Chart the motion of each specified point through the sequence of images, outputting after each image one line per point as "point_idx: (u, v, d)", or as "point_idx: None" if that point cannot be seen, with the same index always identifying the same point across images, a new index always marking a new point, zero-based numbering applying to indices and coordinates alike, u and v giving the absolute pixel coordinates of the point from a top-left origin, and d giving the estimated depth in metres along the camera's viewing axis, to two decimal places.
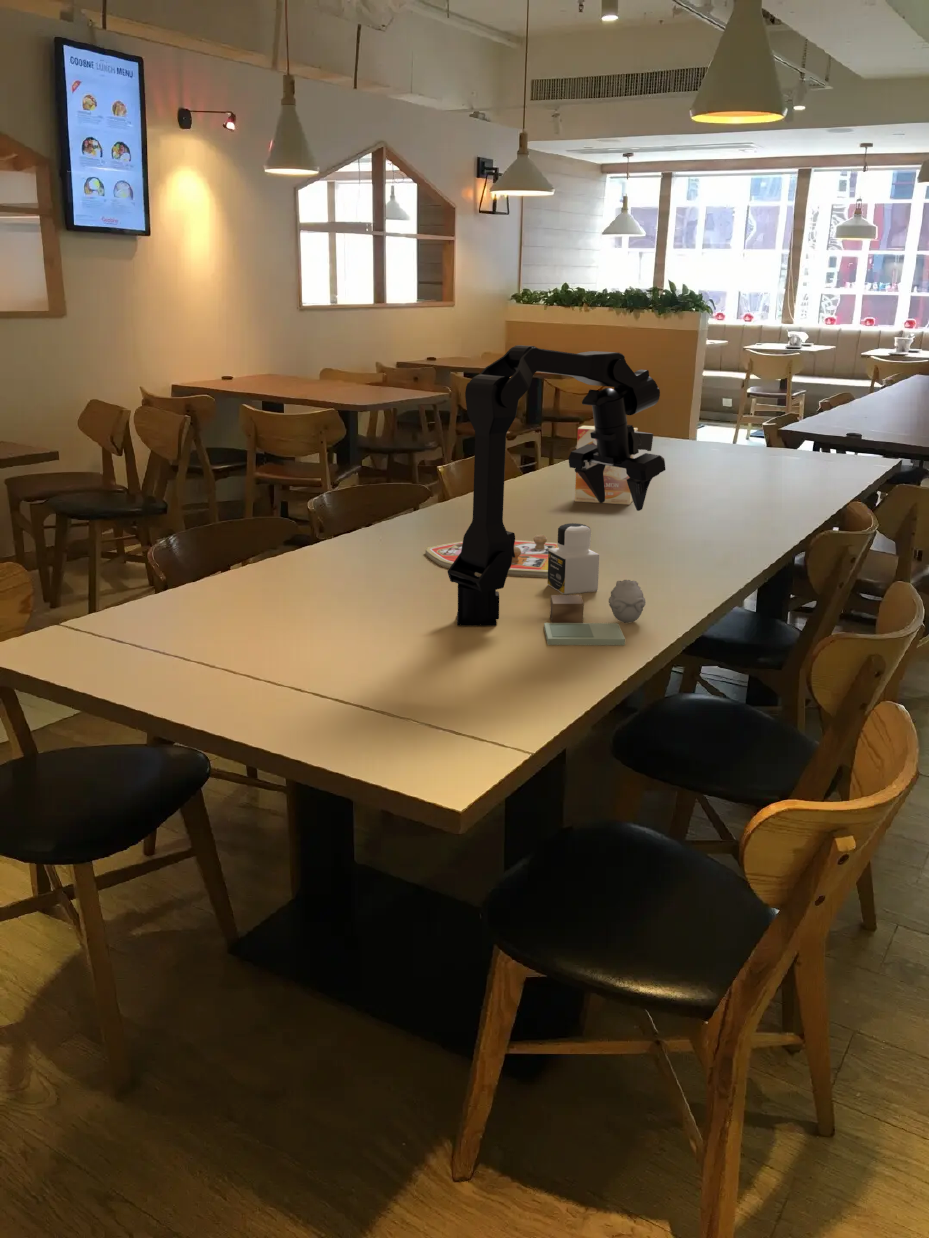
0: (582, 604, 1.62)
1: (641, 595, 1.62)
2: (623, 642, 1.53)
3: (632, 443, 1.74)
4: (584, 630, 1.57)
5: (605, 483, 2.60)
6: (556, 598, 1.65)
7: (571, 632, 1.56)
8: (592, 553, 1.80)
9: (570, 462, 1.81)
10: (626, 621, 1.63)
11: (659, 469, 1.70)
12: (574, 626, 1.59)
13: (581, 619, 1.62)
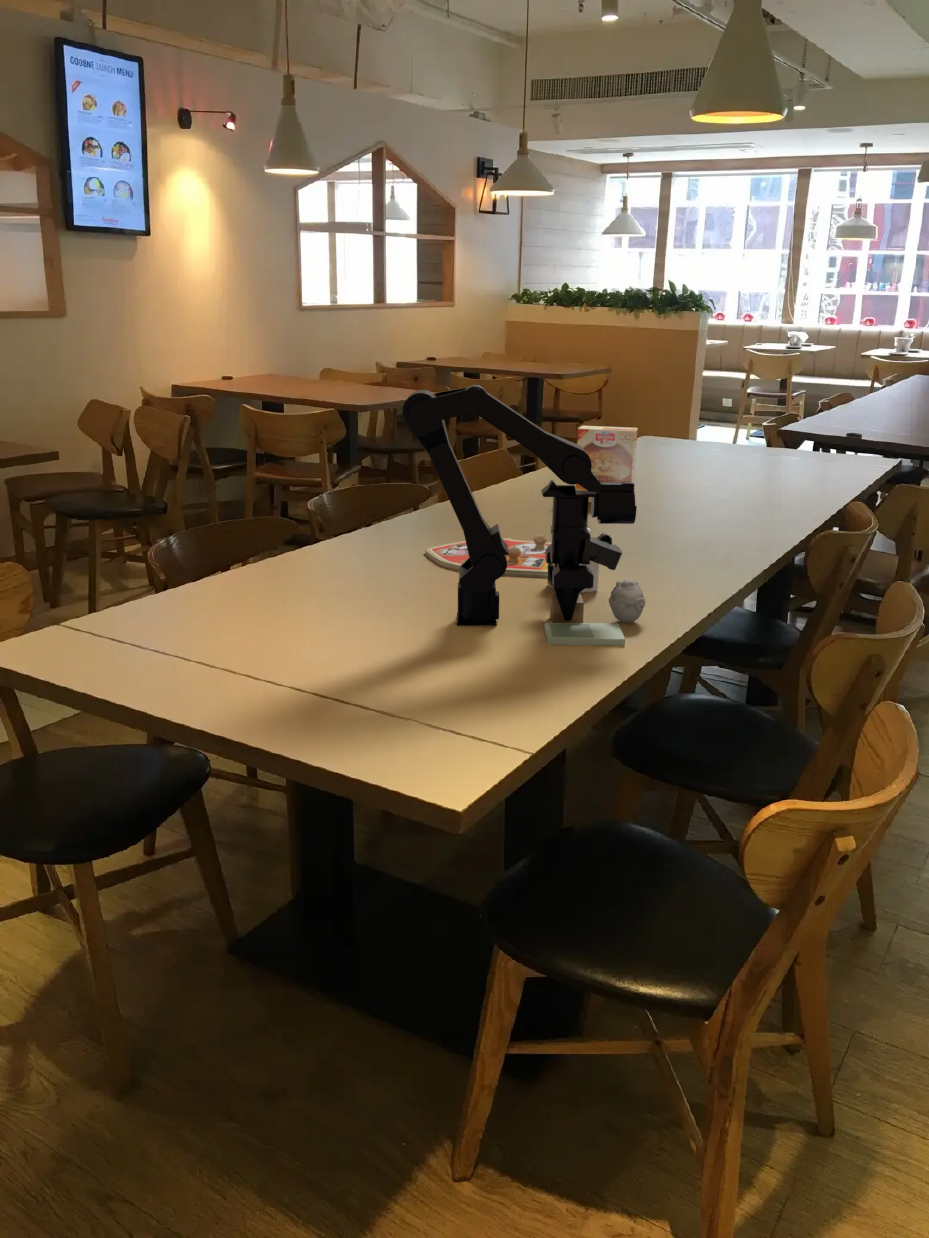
0: (582, 603, 1.61)
1: (641, 595, 1.62)
2: (623, 642, 1.53)
3: (583, 551, 1.59)
4: (584, 630, 1.57)
5: None
6: (556, 597, 1.65)
7: (571, 632, 1.56)
8: None
9: None
10: (626, 621, 1.63)
11: (580, 584, 1.53)
12: (574, 626, 1.59)
13: (581, 618, 1.62)
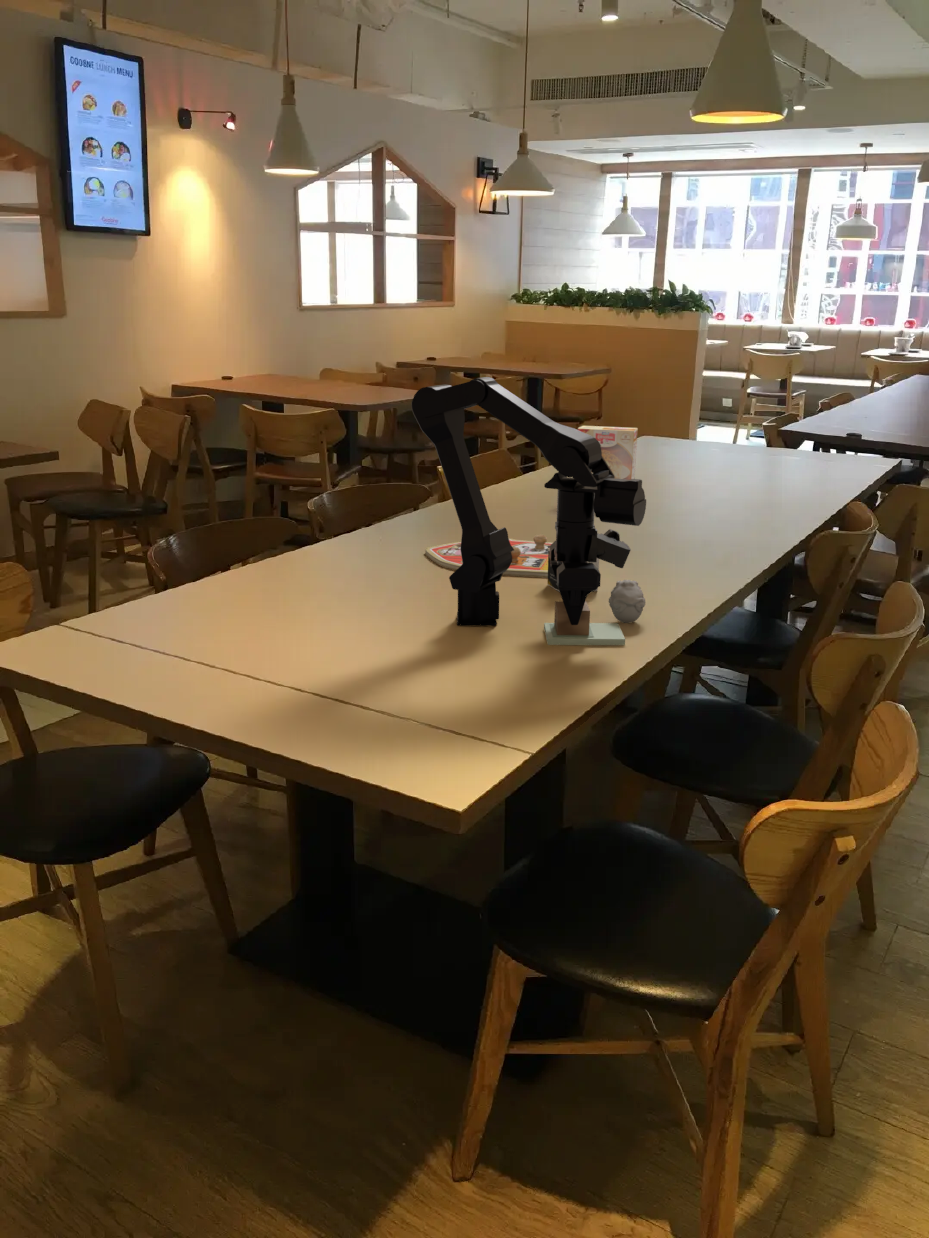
0: (588, 611, 1.54)
1: (641, 595, 1.62)
2: (623, 642, 1.53)
3: (589, 548, 1.50)
4: None
5: None
6: (560, 604, 1.57)
7: None
8: None
9: (549, 551, 1.62)
10: (626, 621, 1.63)
11: (586, 582, 1.45)
12: None
13: (587, 627, 1.54)
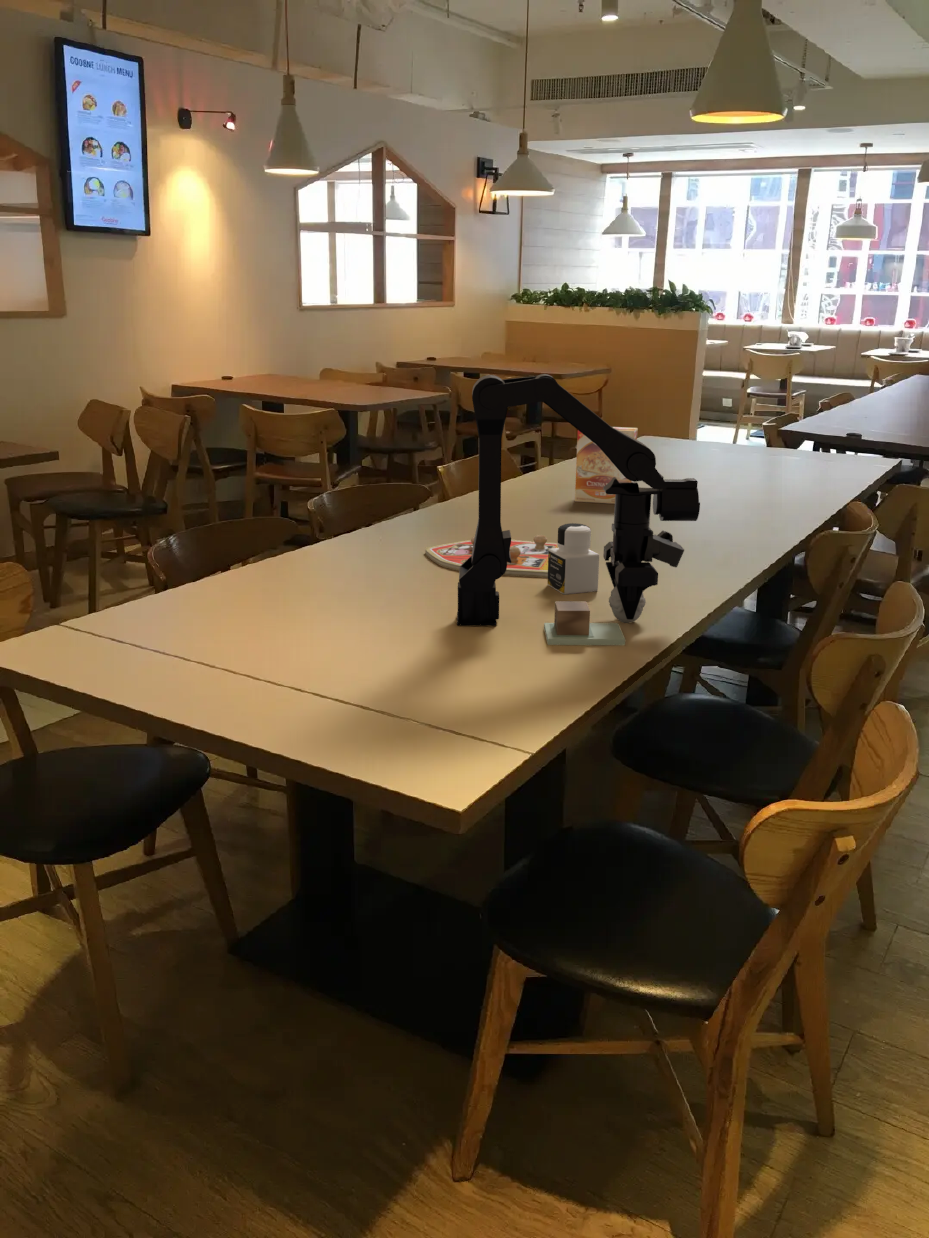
0: (588, 611, 1.54)
1: (641, 595, 1.62)
2: (623, 642, 1.53)
3: (646, 549, 1.58)
4: None
5: (605, 483, 2.60)
6: (560, 604, 1.57)
7: None
8: (592, 553, 1.80)
9: None
10: (627, 621, 1.63)
11: (644, 581, 1.53)
12: None
13: (587, 627, 1.54)
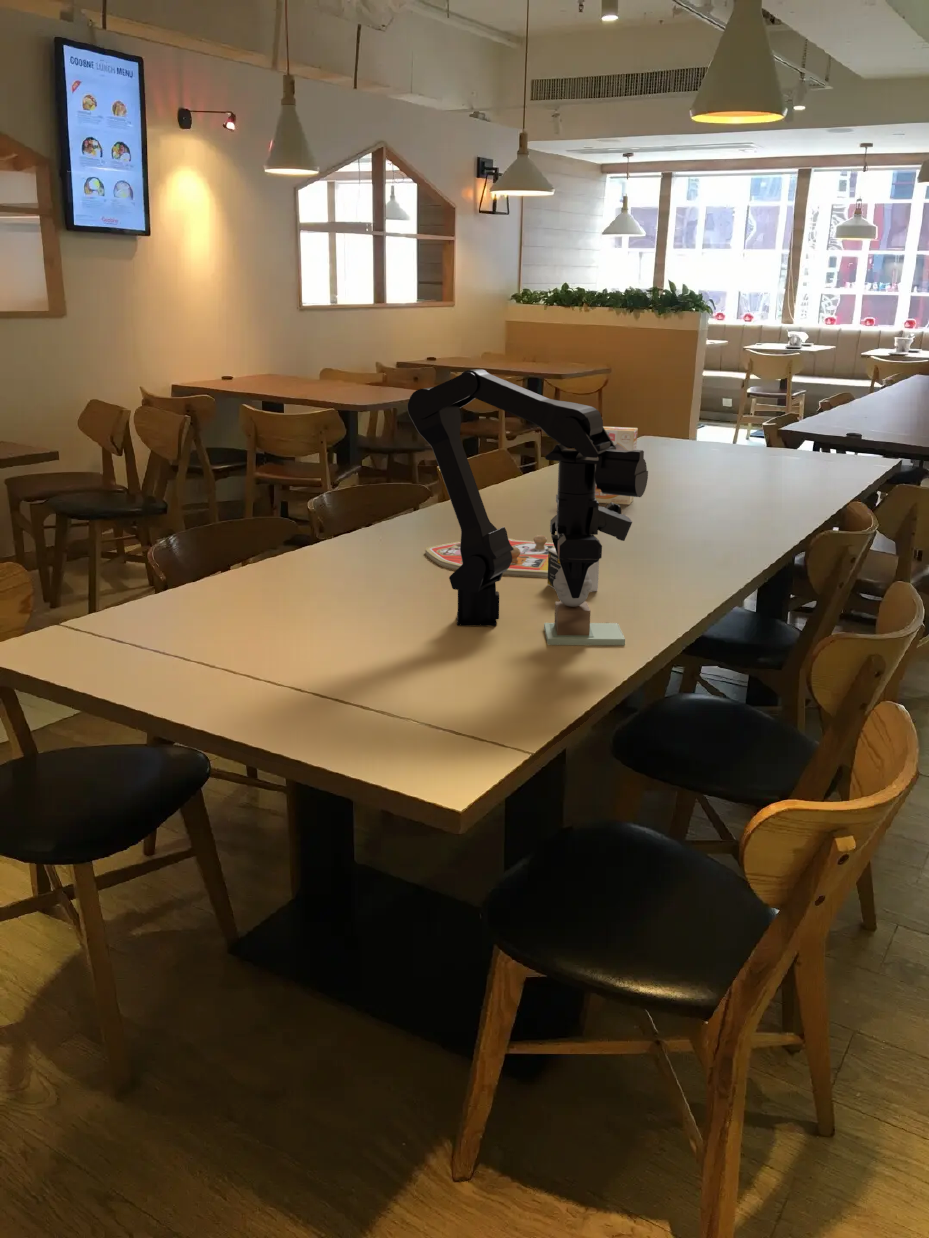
0: (589, 611, 1.54)
1: (587, 577, 1.53)
2: (623, 642, 1.53)
3: (590, 520, 1.49)
4: None
5: None
6: (560, 604, 1.56)
7: None
8: None
9: (550, 525, 1.60)
10: (572, 605, 1.54)
11: (587, 554, 1.44)
12: None
13: (588, 627, 1.54)
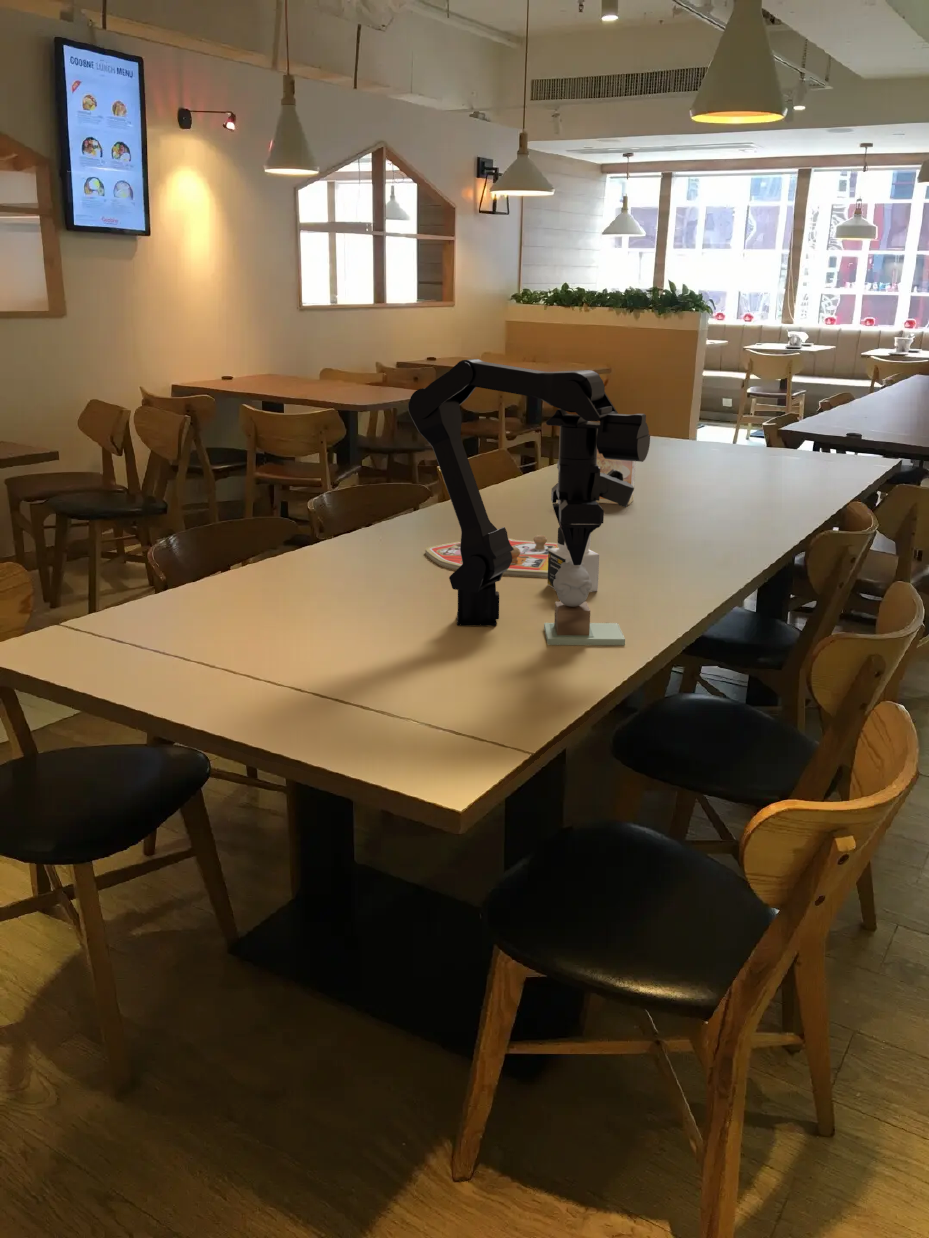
0: (589, 611, 1.54)
1: (587, 577, 1.53)
2: (623, 642, 1.53)
3: (592, 486, 1.47)
4: None
5: None
6: (560, 604, 1.56)
7: None
8: (592, 553, 1.80)
9: (551, 494, 1.59)
10: (572, 605, 1.54)
11: (589, 519, 1.42)
12: None
13: (587, 627, 1.54)
